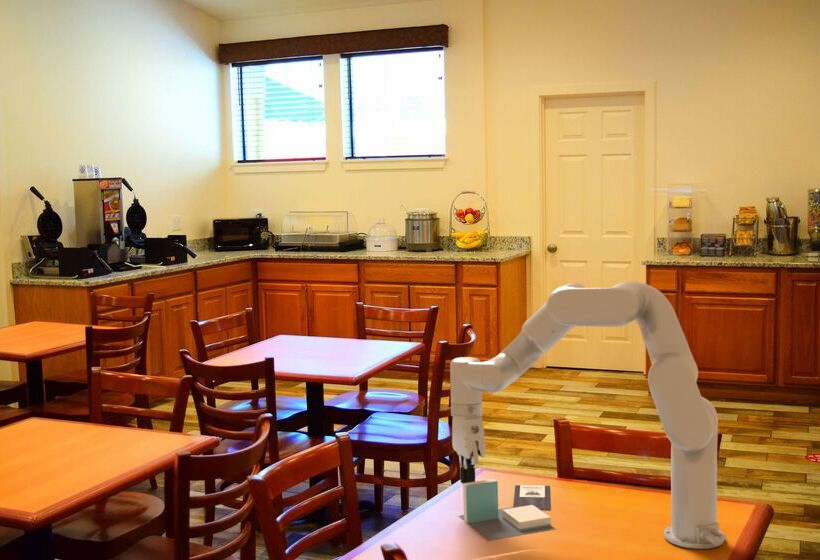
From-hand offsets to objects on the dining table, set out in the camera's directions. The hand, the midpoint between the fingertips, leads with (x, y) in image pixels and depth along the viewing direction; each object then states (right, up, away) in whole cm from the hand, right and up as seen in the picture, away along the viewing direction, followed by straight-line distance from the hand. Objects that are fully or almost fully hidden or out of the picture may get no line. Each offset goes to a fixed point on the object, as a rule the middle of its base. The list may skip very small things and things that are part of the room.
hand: (467, 482), depth 214 cm
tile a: (+12, -6, -4) cm, 14 cm away
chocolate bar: (+17, -7, +8) cm, 20 cm away
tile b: (+3, -7, -6) cm, 10 cm away
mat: (+8, -8, -8) cm, 14 cm away
